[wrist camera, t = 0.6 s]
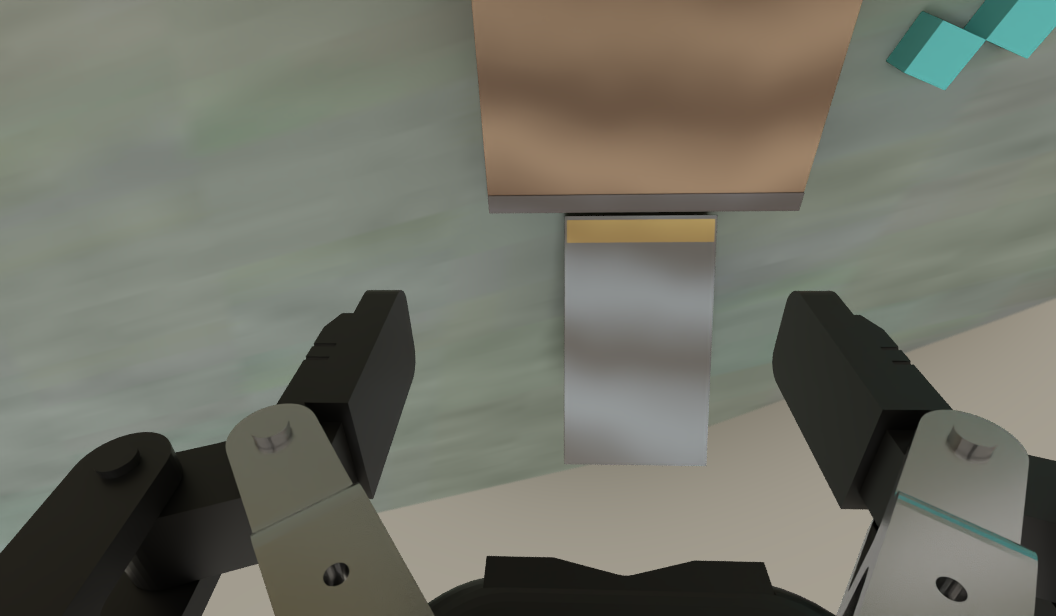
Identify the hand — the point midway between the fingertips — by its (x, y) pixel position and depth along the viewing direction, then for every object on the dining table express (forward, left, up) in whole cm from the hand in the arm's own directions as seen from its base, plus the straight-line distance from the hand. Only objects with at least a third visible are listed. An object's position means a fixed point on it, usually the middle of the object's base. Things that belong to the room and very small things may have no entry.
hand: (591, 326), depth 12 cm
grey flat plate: (+14, +4, -15) cm, 21 cm away
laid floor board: (+1, +4, -19) cm, 19 cm away
